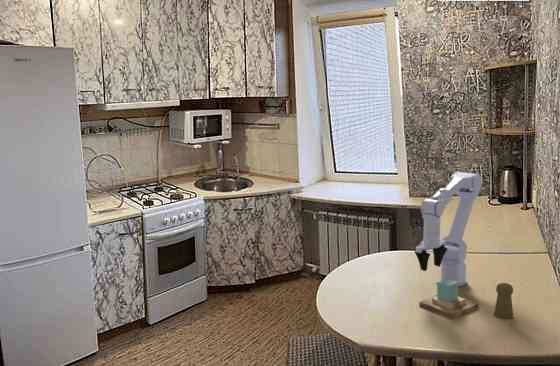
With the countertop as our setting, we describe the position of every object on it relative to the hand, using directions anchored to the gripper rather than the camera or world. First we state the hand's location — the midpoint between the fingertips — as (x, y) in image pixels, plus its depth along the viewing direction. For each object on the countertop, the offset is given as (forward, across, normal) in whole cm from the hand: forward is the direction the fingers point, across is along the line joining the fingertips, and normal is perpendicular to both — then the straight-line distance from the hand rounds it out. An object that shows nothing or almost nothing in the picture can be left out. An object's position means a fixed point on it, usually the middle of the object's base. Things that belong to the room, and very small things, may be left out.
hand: (430, 268), depth 198 cm
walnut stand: (+10, +3, +11) cm, 15 cm away
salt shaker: (+11, -5, +27) cm, 29 cm away
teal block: (+8, +3, +10) cm, 13 cm away
